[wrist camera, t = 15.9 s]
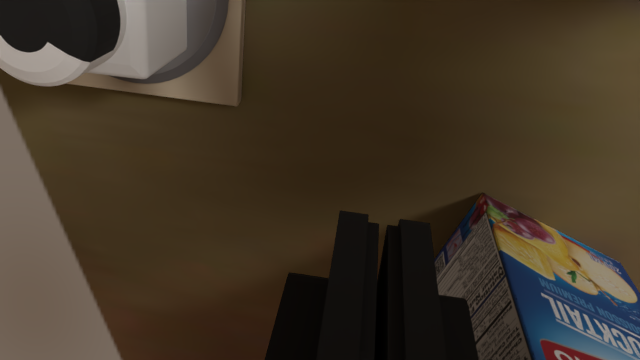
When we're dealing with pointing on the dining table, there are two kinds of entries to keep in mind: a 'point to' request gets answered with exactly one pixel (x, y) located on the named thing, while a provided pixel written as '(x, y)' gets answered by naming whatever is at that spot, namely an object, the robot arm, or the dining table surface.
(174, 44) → the medicine bottle
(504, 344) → the juice carton
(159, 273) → the dining table surface
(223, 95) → the board
